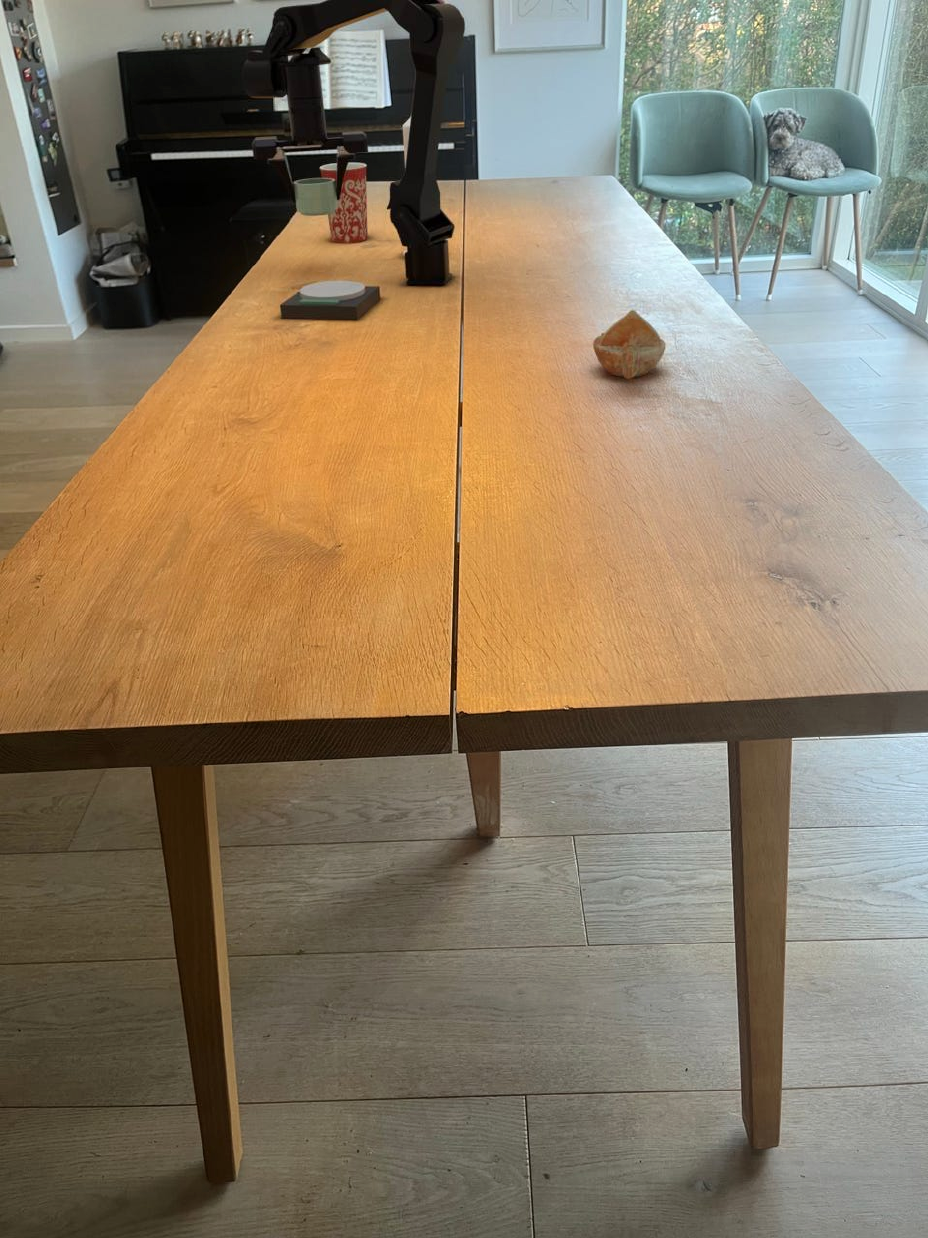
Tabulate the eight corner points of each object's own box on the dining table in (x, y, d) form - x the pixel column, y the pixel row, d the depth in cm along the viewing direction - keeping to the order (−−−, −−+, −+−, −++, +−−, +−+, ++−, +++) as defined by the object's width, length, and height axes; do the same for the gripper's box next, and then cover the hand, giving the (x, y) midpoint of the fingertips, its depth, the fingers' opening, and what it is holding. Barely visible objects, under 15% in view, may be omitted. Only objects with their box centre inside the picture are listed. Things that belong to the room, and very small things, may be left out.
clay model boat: (590, 398, 113) (593, 310, 108) (594, 343, 131) (596, 265, 126) (667, 398, 112) (673, 309, 107) (660, 343, 130) (665, 265, 125)
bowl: (344, 208, 170) (340, 177, 168) (330, 216, 165) (326, 183, 162) (306, 209, 172) (302, 177, 169) (291, 216, 166) (287, 184, 163)
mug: (369, 243, 193) (363, 167, 186) (323, 244, 193) (315, 169, 186) (377, 230, 203) (371, 158, 196) (333, 231, 204) (326, 160, 197)
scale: (380, 299, 155) (379, 280, 154) (357, 319, 146) (355, 300, 144) (308, 297, 158) (306, 279, 156) (281, 318, 148) (278, 299, 147)
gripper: (361, 90, 167) (369, 190, 175) (249, 97, 165) (263, 197, 173) (363, 95, 157) (372, 200, 165) (245, 102, 156) (260, 207, 164)
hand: (316, 201), depth 167 cm, fingers closed on bowl, 7 cm apart
